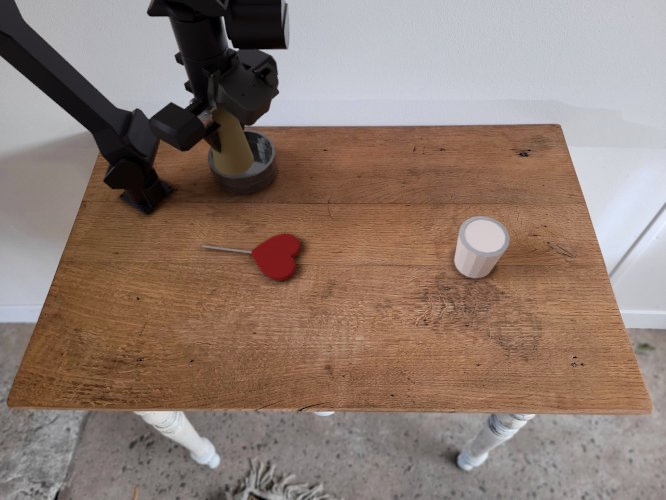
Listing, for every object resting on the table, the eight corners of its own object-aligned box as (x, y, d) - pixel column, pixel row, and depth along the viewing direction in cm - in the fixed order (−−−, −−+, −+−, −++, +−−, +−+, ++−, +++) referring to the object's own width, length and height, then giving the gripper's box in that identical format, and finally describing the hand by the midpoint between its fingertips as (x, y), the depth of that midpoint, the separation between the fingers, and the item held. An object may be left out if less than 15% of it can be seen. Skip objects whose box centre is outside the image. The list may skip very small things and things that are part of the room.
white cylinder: (501, 252, 73) (515, 224, 67) (489, 288, 70) (503, 263, 64) (457, 236, 75) (467, 209, 69) (443, 272, 71) (452, 245, 65)
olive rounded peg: (206, 167, 73) (186, 110, 63) (227, 141, 76) (211, 83, 66) (241, 180, 71) (226, 123, 62) (260, 152, 74) (249, 94, 65)
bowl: (200, 179, 82) (193, 160, 78) (241, 140, 87) (236, 121, 83) (251, 206, 79) (246, 188, 75) (290, 164, 84) (288, 145, 80)
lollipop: (194, 270, 72) (292, 283, 71) (193, 267, 71) (292, 280, 70) (210, 226, 77) (303, 237, 75) (209, 223, 76) (302, 234, 74)
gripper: (197, 116, 50) (227, 209, 64) (305, 29, 59) (312, 126, 72) (125, 78, 54) (168, 173, 67) (236, 0, 62) (254, 98, 75)
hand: (229, 142), depth 70 cm, fingers closed on olive rounded peg, 4 cm apart
